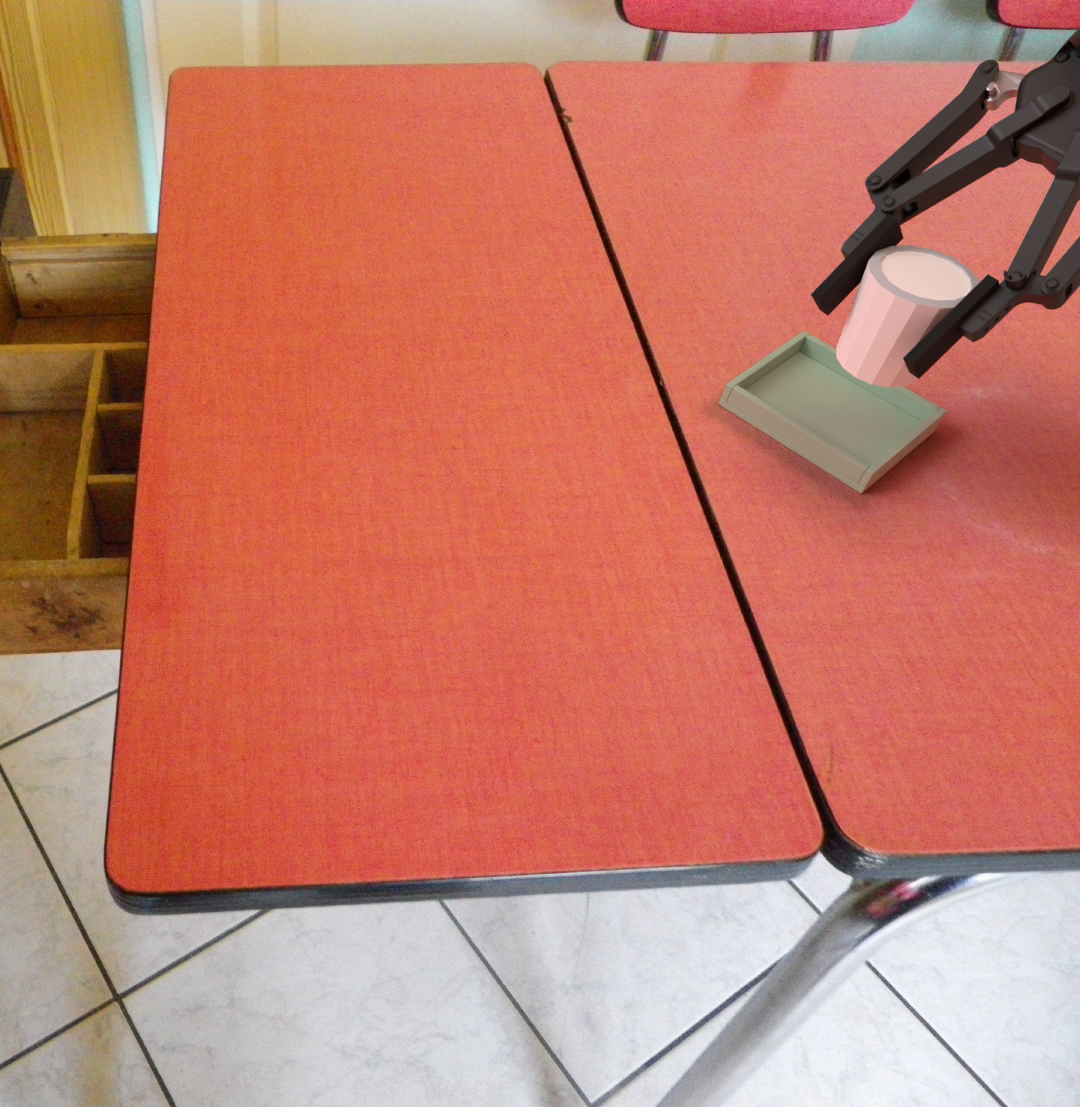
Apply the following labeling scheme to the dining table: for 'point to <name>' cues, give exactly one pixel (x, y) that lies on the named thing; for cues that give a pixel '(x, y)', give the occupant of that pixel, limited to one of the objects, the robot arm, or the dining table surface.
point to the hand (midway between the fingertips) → (864, 335)
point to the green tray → (830, 411)
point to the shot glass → (899, 311)
